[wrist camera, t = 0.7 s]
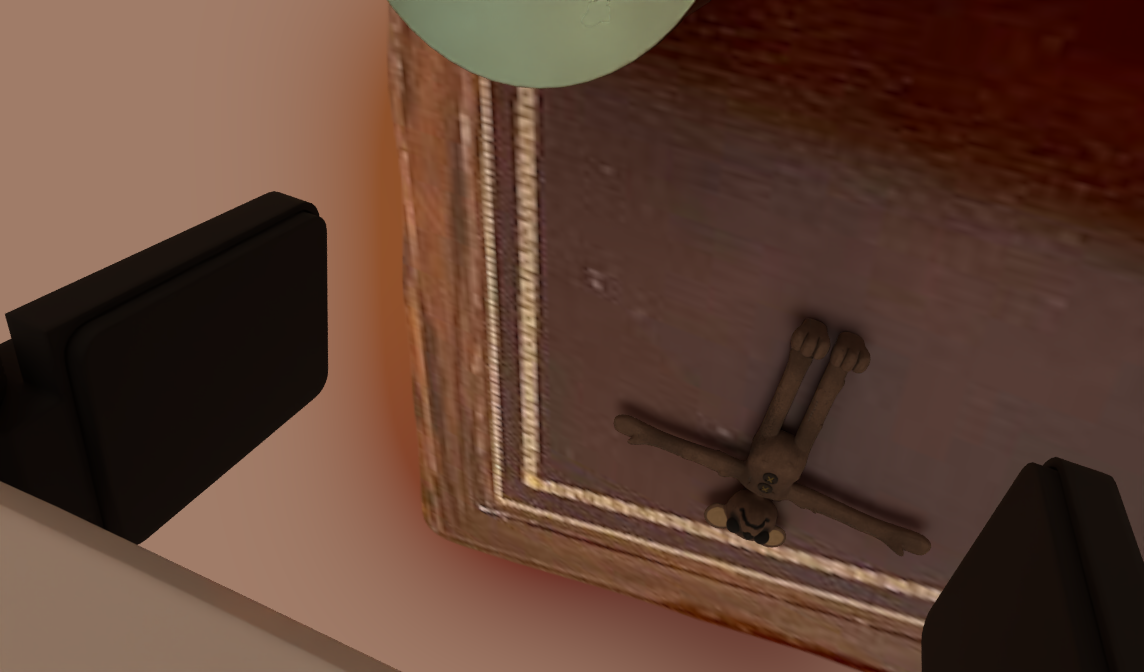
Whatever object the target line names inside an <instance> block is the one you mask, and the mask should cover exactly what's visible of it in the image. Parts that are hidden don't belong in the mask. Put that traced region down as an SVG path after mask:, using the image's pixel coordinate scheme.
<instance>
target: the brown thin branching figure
mask: <svg viewBox="0 0 1144 672" xmlns="http://www.w3.org/2000/svg"><path fill="white" fill-rule="evenodd" d="M791 347H792V348H791V351H790V354H789V361H788V364H787V367H786V369H785V372H784V374H783V376H782V378H781V381H780V383H779V385H778V388H777V390H776V392H775V395H774V397H773V399H772V402H771V404H770V406H769V409H768V411H767V413H766V415H765V418H764V420H763V422H762V425H761V427H760V429H759V431H758V433H757V434H756V435H755V436H754V439H753V442H752V446H751V450H750V454H749V457H748V459H747V460H746V461H742V460H739V459H737V458H734V457H732V456H730V455H728V454H726V453H724V452H722V451H720V450H714V449H710V448H707V447H704V446H701V445H698V444H695V443H692V442H690V441H687V440H684V439H681V438H678V437H676V436H673V435H670V434H668V433H665V432H663V431H661V430H659V429H656V428H654V427H652V426H650V425H648V424H646V423H644V422H642V421H640V420H638V419H636V418H634V417H632V416H629V415H618V416H616V417H615V419H614V427H615V429H616V430H617V431H618V432H620V433H622V434H625V435H627V436H629V437H631V438H630V439H629V440H628V443H629V444H634V445H639V444H646V445H651V446H655V447H658V448H661V449H664V450H666V451H669V452H671V453H674V454H676V455H678V456H680V457H682V458H685V459H687V460H691V461H694V462H697V463H699V464H701V465H704V466H706V467H708V468H710V469H712V470H714V471H717V472H718V473H719V475H720V476H722V477H734V478H736V479H738V480H739V481H740V482H741V483H742V484H743V485H744V486H745V487H746V488H747V489H743V490H740V491H738V492H736V493H735V494H734V495H733V496H732V497H731V498H730V499H729V501H728V503H727V504H720V503H714V504H712V505H710V506H709V507H708V508H707V509H706V510H705V513H704V518H705V520H706V521H707V522H708V523H709V524H710V525H711V526H713V527H715V528H727V529H728V530H729V531H730V532H732V533H735V534H737V535H738V536H740V537H741V538H743V539H746V540H750V541H755V542H756V543H758V544H761V545H763V546H766V547H778V546H780V545H782V544H783V543H784V542H785V539H786V534H785V532H784V530H783V529H782V528H780V527H778V526H776V525H775V524H776V520H777V509H776V507H775V505H774V504H773V502H772V501H771V500H776V501H781V500H790V501H792V502H793V503H794V504H796V505H797V506H799V507H800V508H803V509H805V508H806V509H809V510H811V511H812V512H813V513H815V514H816V512H817V513H820V514H823V515H825V516H828V517H830V518H832V519H835V520H837V521H839V522H842V523H844V524H846V525H848V526H850V527H852V528H854V529H857V530H859V531H861V532H864V533H866V534H869V535H871V536H873V537H876V538H877V539H879V540H881V541H882V542H884V543H885V544H886V545H887V546H888V547H889V548H891V549H892V550H893V551H894V552H895V553H896V554H897V555H899V556H903V555H904V553H903V550H906V551H908V552H911V553H913V554H916V555H924V554H926V553H927V552H928V551H929V550H930V548H931V544H930V542H929V540H928V539H927V538H926V537H924V536H923V535H921V534H919V533H917V532H914V531H912V530H909V529H906V528H902V527H899V526H896V525H893V524H890V523H887V522H884V521H882V520H879V519H876V518H874V517H872V516H869V515H867V514H865V513H862V512H860V511H858V510H856V509H854V508H852V507H849V506H847V505H845V504H843V503H841V502H839V501H836V500H834V499H832V498H830V497H828V496H826V495H823V494H821V493H819V492H817V491H815V490H812V489H810V488H808V487H806V486H803V485H801V484H798V483H796V482H795V481H797V480H798V479H799V478H800V477H801V473H802V471H803V470H804V468H805V465H806V462H807V459H808V455H809V452H810V450H811V447H812V445H813V443H814V441H815V439H816V437H817V435H818V433H819V431H820V430H821V428H822V425H823V423H824V420H825V418H826V416H827V414H828V412H829V410H830V408H831V406H832V404H833V401H834V399H835V398H836V396H837V394H838V393H839V391H840V390H841V389H842V387H843V386H844V383H845V380H844V379H845V377H846V374H847V373H848V371H851V370H853V372H855V373H862V372H864V371H865V370H866V369H867V367H868V365H869V363H870V354H869V352H868V350H867V348H866V347H865V344H864V341H863V339H862V338H861V337H860V336H858V335H855V334H853V333H850V332H842V333H840V335H839V336H838V338H837V341H836V344H835V346H834V348H833V350H832V352H831V357H830V361H829V364H828V366H827V368H826V370H825V372H824V375H823V377H822V379H821V381H820V383H819V385H818V387H817V390H816V392H815V394H814V396H813V399H812V401H811V403H810V405H809V407H808V410H807V412H806V414H805V416H804V418H803V421H802V423H801V425H800V427H799V429H798V432H797V434H796V436H794V435H792V434H790V433H787V432H785V431H782V430H780V428H781V426H782V424H783V422H784V420H785V417H786V415H787V413H788V411H789V408H790V406H791V404H792V402H793V400H794V397H795V395H796V393H797V391H798V389H799V386H800V384H801V382H802V380H803V378H804V375H805V373H806V371H807V369H808V367H809V366H810V364H811V363H812V359H813V358H814V359H817V360H819V359H822V358H824V357H825V355H826V354H827V353H828V351H829V348H830V339H829V336H828V333H827V327H826V326H825V325H824V324H823V323H821V322H819V321H817V320H814V319H810V318H807V319H805V320H804V322H803V324H802V325H801V326H800V327H798V328H797V329H796V330H795V332H794V333H793V335H792V338H791ZM770 499H771V500H770Z"/></svg>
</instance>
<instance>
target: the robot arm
mask: <svg viewBox="0 0 1144 672" xmlns="http://www.w3.org/2000/svg"><path fill="white" fill-rule="evenodd" d="M5 316H6V320H7V323H8V327H9V331H10V334H11V338H12V339H10V340H8V341H6V342H3V343H2V344H0V672H401V671H399V670H397V669H395V668H393V667H391V666H388V665H386V664H384V663H382V662H380V661H378V660H376V659H374V658H372V657H370V656H368V655H366V654H364V653H362V652H359V651H357V650H355V649H353V648H351V647H349V646H347V645H345V644H343V643H341V642H339V641H337V640H335V639H332V638H330V637H328V636H326V635H324V634H322V633H320V632H318V631H316V630H314V629H312V628H310V627H308V626H306V625H303V624H301V623H299V622H297V621H295V620H293V619H291V618H289V617H287V616H285V615H283V614H281V613H278V612H276V611H274V610H272V609H270V608H268V607H266V606H264V605H262V604H260V603H258V602H256V601H254V600H252V599H249V598H247V597H245V596H243V595H241V594H239V593H237V592H235V591H233V590H231V589H229V588H226V587H224V586H222V585H220V584H218V583H216V582H214V581H212V580H210V579H207V578H205V577H203V576H201V575H199V574H197V573H195V572H193V571H191V570H189V569H186V568H184V567H182V566H180V565H178V564H176V563H174V562H172V561H169V560H168V559H165V558H163V557H161V556H159V555H157V554H155V553H153V552H151V551H149V550H146V549H144V548H142V547H140V546H138V544H140V543H142V542H143V541H145V540H146V539H147V538H149V537H150V536H151V535H152V534H153V533H154V532H156V531H157V530H158V529H159V528H160V527H162V526H163V525H164V524H165V523H166V522H168V521H169V520H170V519H171V518H172V517H174V516H175V515H176V514H177V513H178V512H179V511H181V510H182V509H183V508H184V507H185V506H187V505H188V504H189V503H190V502H191V501H192V500H194V499H195V498H196V497H197V496H198V495H200V494H201V493H202V492H203V491H204V490H206V489H207V488H208V487H209V486H210V485H212V484H213V483H214V482H215V481H216V480H218V479H219V478H220V477H221V476H222V475H223V474H225V473H226V472H227V471H228V470H229V469H231V468H232V467H233V466H234V465H235V464H237V463H238V462H239V461H240V460H241V459H243V458H244V457H245V456H246V455H247V454H248V453H250V452H251V451H252V450H253V449H254V448H256V447H257V446H258V445H259V444H260V443H262V442H263V441H264V440H265V439H266V438H268V437H269V436H270V435H271V434H272V433H273V432H275V430H277V429H278V428H279V427H280V426H282V425H283V424H284V423H285V422H286V421H288V420H289V419H290V418H291V417H293V416H294V415H295V414H296V413H297V412H298V411H300V410H301V409H302V408H303V407H304V406H306V405H307V404H308V403H309V402H310V401H312V400H313V399H314V398H315V397H316V396H317V395H318V394H319V393H320V392H321V390H322V389H323V387H324V385H325V383H326V380H327V376H328V322H327V321H328V317H327V316H328V312H327V228H326V223H325V221H324V220H323V219H322V218H321V217H319V213H318V210H317V208H316V207H315V206H314V205H313V204H312V203H309V202H306V201H303V200H300V199H297V198H294V197H292V196H288V195H286V194H283V193H280V192H275V191H273V192H269V193H267V194H264V195H262V196H260V197H258V198H256V199H253V200H251V201H249V202H247V203H245V204H242V205H240V206H238V207H236V208H234V209H232V210H229V211H227V212H225V213H223V214H221V215H219V216H216V217H214V218H212V219H210V220H208V221H206V222H203V223H201V224H199V225H197V226H195V227H193V228H190V229H188V230H186V231H184V232H182V233H180V234H177V235H175V236H173V237H171V238H169V239H167V240H164V241H162V242H160V243H158V244H156V245H153V246H151V247H149V248H147V249H145V250H143V251H141V252H138V253H136V254H134V255H132V256H130V257H128V258H125V259H123V260H121V261H119V262H117V263H115V264H112V265H110V266H108V267H106V268H104V269H102V270H99V271H97V272H95V273H93V274H91V275H88V276H86V277H84V278H82V279H80V280H77V281H76V282H74V283H71V284H69V285H67V286H64V287H62V288H60V289H58V290H56V291H54V292H51V293H49V294H47V295H45V296H43V297H41V298H38V299H36V300H34V301H32V302H30V303H28V304H25V305H23V306H21V307H19V308H17V309H15V310H13V311H11V312H8V313H6V314H5ZM921 644H922V672H1144V562H1143V559H1142V557H1141V554H1140V551H1139V548H1138V545H1137V542H1136V539H1135V536H1134V534H1133V531H1132V528H1131V525H1130V522H1129V519H1128V516H1127V513H1126V511H1125V508H1124V505H1123V502H1122V499H1121V496H1120V493H1119V490H1118V488H1117V485H1116V482H1115V481H1114V479H1113V477H1111V476H1109V475H1107V474H1105V473H1102V472H1099V471H1096V470H1093V469H1090V468H1087V467H1084V466H1081V465H1078V464H1075V463H1072V462H1069V461H1066V460H1064V459H1061V458H1058V457H1054V458H1051V459H1049V460H1048V461H1047V462H1045V463H1044V465H1043V466H1042V465H1039V464H1036V463H1033V462H1032V463H1028V464H1027V465H1026V466H1025V467H1024V468H1023V469H1022V470H1021V472H1020V473H1019V475H1018V476H1017V478H1016V479H1015V481H1014V482H1013V484H1012V485H1011V487H1010V489H1009V490H1008V492H1007V493H1006V495H1005V496H1004V498H1003V499H1002V501H1001V502H1000V504H999V505H998V507H997V508H996V510H995V511H994V513H993V515H992V516H991V518H990V519H989V521H988V522H987V524H986V525H985V527H984V528H983V530H982V531H981V533H980V534H979V536H978V538H977V539H976V541H975V542H974V544H973V545H972V547H971V548H970V550H969V551H968V553H967V554H966V556H965V557H964V559H963V560H962V562H961V564H960V565H959V567H958V568H957V570H956V571H955V573H954V574H953V576H952V577H951V579H950V580H949V582H948V583H947V585H946V586H945V588H944V590H943V591H942V593H941V594H940V596H939V597H938V599H937V600H936V602H935V603H934V605H933V606H932V608H931V610H930V611H929V613H928V615H927V618H926V620H925V624H924V627H923V632H922V641H921Z"/></svg>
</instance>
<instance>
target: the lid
mask: <svg viewBox="0 0 1144 672" xmlns="http://www.w3.org/2000/svg"><path fill="white" fill-rule="evenodd" d="M387 1H388V2H389V4H390V5H391V7H392V8H393V9H394V11H395V12H396V13H397V14H398V15H399V16H400V17H401V19H402V20H403V21H404V22H405V23H406V24H407V26H408V27H409V28H410V29H411V30H412V31H413V32H414V33H415V34H416V35H418V36H419V37H420V38H421V39H422V40H423V41H424V42H425V43H426V44H427V45H428V46H430V47H431V48H432V49H434V50H435V51H437V52H438V53H439V54H441V55H442V56H443V57H445V58H446V59H448V60H449V61H451V62H452V63H454V64H456V65H458V66H460V67H462V68H463V69H465V70H467V71H469V72H471V73H473V74H476V75H478V76H481V77H483V78H486V79H489V80H491V81H494V82H498V83H503V84H507V85H511V86H515V87H525V88H536V89H546V88H563V87H568V86H573V85H578V84H583V83H587V82H590V81H593V80H596V79H598V78H601V77H604V76H606V75H609V74H612V73H613V72H615V71H617V70H619V69H621V68H623V67H625V66H626V65H628V64H630V63H632V62H634V61H636V60H637V59H639V58H640V57H641V56H643V55H644V54H645V53H647V52H648V51H650V50H651V49H652V48H654V47H655V46H656V45H658V44H659V43H660V42H661V41H662V40H663V39H664V38H665V37H666V36H668V35H669V34H670V33H671V32H672V31H673V30H674V29H675V28H676V27H677V26H678V25H679V24H680V23H681V22H682V20H683V19H684V18H685V17H686V15H687V14H688V13H689V12H690V10H691V9H692V8H693V7H694V5H695V4H696V3H697V2H698V0H387Z"/></svg>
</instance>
